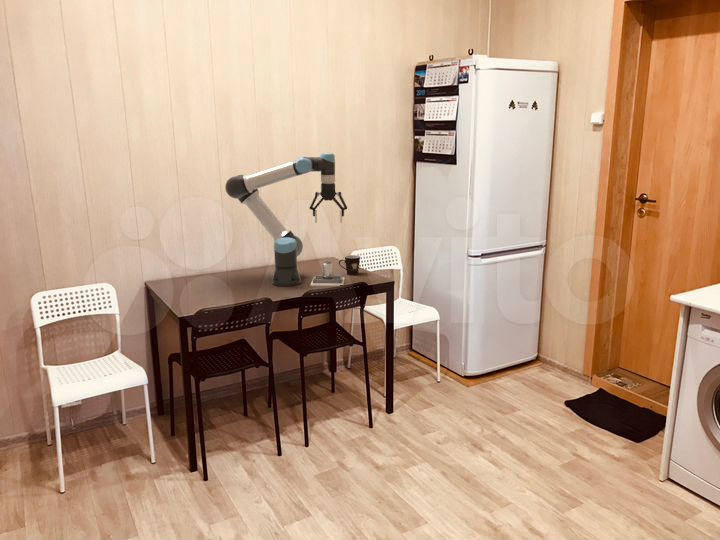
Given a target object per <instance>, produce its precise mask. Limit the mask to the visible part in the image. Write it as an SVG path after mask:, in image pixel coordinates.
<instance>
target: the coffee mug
mask: <svg viewBox="0 0 720 540" xmlns="http://www.w3.org/2000/svg"><path fill="white" fill-rule="evenodd" d="M360 260H361V256H360V255H356V254H355V255H354V254H349V255H345V256H344V259H339V262H338V265H339V266H340V268H343V269H344V270H345V271H346V275H348V276H357V275H359V271H360V270H359V269H360ZM342 261H343V262H344V263H345V267H344V266H343V265H341V262H342Z"/></svg>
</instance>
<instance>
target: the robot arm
mask: <svg viewBox="0 0 720 540" xmlns="http://www.w3.org/2000/svg"><path fill="white" fill-rule="evenodd" d="M335 156H336V155H335V154H334V153H329V152H327V153H325V152H323V153H321V154H320V156H317V157H316V156H315V157H312V156H302V157H301V156H300V157H298V158H297V160H293V161H290V162H287V163H284V164H281V165H278V166H275V167H271V168H268V169H266V170H262V171H259V172H255V173H254V174H253V173H252V174H250V175H246V174H239V175H235V176H232V177H229V179H227V180H226V183H225V186H224V187H225V193H226V194H227V195H228V196H229V197H231V198H232V199H237V200H238V201H239V202H240V203H241V205H245V206H247V207H248V209H249V210H250V211H251V213H252V214H253V215H254V216H255V218H256V219H257V220H258V221H259V222H260V224H261V225H262V226H263V228H264V229H265V230H266V232H268V234H269V235H270V236H271V237H272V238H273V244H274V245H273V250H274V253H273V254H274V272H273V275H272V278H271V281H272V282H271V283H272V285H274V286H278V287H291V286H297V285H299V284H301V282H302V280H301V279H302V278H301V275H300V273H299V270H298V257H299V256H300V255H301V254H302V251H303V241H302V240H301V238H300V237H298V236H297V235H295V234H294V233H293V232H292V230H290V229H286V227H285V226H284V225H283V223H282V222H281V220H280V219H278V217H277V216H276V215H275V213H274V212H273V211H272V210H271V208H270V207H269V206H268V205H267V203H266V202H265V200H263V199H262V197H261V196H260V195H259V193H260V191H259V189H260V188H263V187H266V186H271V185H273V184H277V183H279V182H282V181H285V180H288V179H291V178H295V177H298V176H301V175H304V174H308V173H310V172H317V173H318V172H320V182H321V184H320V192H319V191H316V192H315V194H314V198H313V199H312V202H311V204H310V206H309V210H312V216H313V217H314V223H315V224H317V223H318V210H317V208H318V207H319V206H320V205H321V203H323V201H326V202H327V201H333V202H334V203H335V204H336V205H337V206H338V208H339V209H340V211H339V214H340V215H339V220H340V221H339V222H340V224H342V223H343V217H345V211H346V210H347V209H348V206H347V204H346V202H345V200H344V198H343V197H342V192H341V191H339V192H336V183H335V182H336V159H335V158H336V157H335ZM320 196H321V199H320V200H319V201H318V202H317V203H316V201H317V199H318V197H320ZM336 196H337V197H338V198H339V201H340V202H341V203H342V205H341V203H340V202H339V201H338V200H337V199H336ZM315 203H316V205H315Z"/></svg>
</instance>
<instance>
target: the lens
mask: <svg viewBox="0 0 720 540" xmlns="http://www.w3.org/2000/svg"><path fill="white" fill-rule="evenodd" d="M333 265H334V264H333V261H323V262H322V265H321V266H322V269H321V270H322V275H321V276H322V279H333V276H334V270H333V269H334V266H333Z"/></svg>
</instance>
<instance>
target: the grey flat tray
mask: <svg viewBox="0 0 720 540" xmlns="http://www.w3.org/2000/svg"><path fill="white" fill-rule="evenodd" d="M322 276H323V275H314V276H313V278H312V280H311V281H310V282H311V283H310V287H341V286H340V285H343V286H344V283H345V277H343V275H333V279H322Z"/></svg>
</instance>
